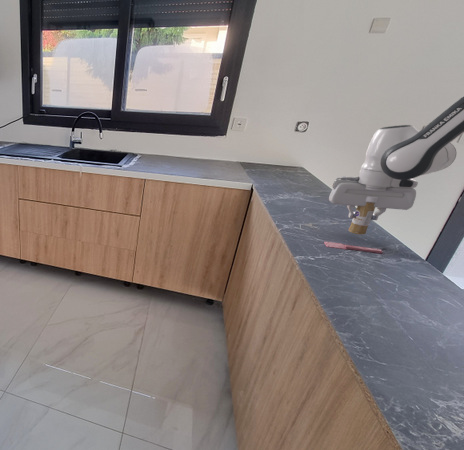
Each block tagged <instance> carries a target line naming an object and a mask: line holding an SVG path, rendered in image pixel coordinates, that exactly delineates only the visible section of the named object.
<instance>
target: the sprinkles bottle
mask: <svg viewBox="0 0 464 450" xmlns="http://www.w3.org/2000/svg"><path fill="white" fill-rule="evenodd" d="M377 200H378V197H371V196H368V197H367V198H366V205H365V206H356V210H355V211H354V212H355V213H357V215H356V218H351V219H352V220H351V223H350V226H349V228H348V232H349V233H352V234H354V235H361V236H362V235H366V234H367V231H368V228H369V225H370V223H371V221H372V220H371V218H372V215H373V214H374V213H375V209H376V207H374V204H375V202H377Z"/></svg>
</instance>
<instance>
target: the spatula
mask: <svg viewBox="0 0 464 450" xmlns="http://www.w3.org/2000/svg"><path fill="white" fill-rule="evenodd" d="M323 244H324V245H325V247H326V248H331V249H339V250H345V251H347V250H351V251H360V252H367V253H373V254H381V255H382V254H383V250H382V249H380V248H374V247H366V246H358V245H351V244H344V243H340V242H333V241H323Z"/></svg>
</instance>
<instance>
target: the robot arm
mask: <svg viewBox="0 0 464 450" xmlns="http://www.w3.org/2000/svg"><path fill="white" fill-rule="evenodd" d="M463 134H464V95H463V96H462V97H461V98H459V99H458V100H457V101H456V102H454V103H453V104H452V105H450V106H449V107H448V108H447V109H445V110H444V111H443V112H442V113H440V114H439V115H438V116H437V117H435V118H434V119H433V120H432V121H431V122H429V123H428V124H427V125H426V126H424V127H423V128H421V130H418V129H417V128H416V127H415V126H414V125H411V124H400V125H390V126H383V127H381V128H379V129H377V130H376V131H375V132H374V134H373V135H372V138H371V139H370V142H369V144H368V147H367V150H366V151H365V160H364V162H363V164H362V165H361V167H360V170H359V173H358V176H346V175H345V176H344V175H343V176H340V177H337V178H336V179H334V180H333V183H332V189H331V191H330V194H329V196H328V200H329V202H330V203H331V204H333V205H341V206H342V205H344V206H346V207H347V210H348V215H347V216H348V219H353V218H356V215H357V213H355V212H356V211H354V210H353V209H355V208H356V207H357V206H365V205H366V198H367V197H368V196H371V197H378V200H377V202H375V204H374V207H375V208H376V209H377V210H376V211H374V213H373V215H372V218H371V221H377V220H378V219H379V217H380V216H381V215H382V214H384V213H385V212H386V211H387V209H391V210H402V211H403V210H404V211H407V210H410V209H412V208H413V206H414V204H415V201H416V197H417V190H416V189H415V188H417V186H418V185H419V182H418V181H417V180H416V179H415V178H418V177H420V176H424V175H429V174H432V173H436V172H439V171H442V170H445V169H447V168H449V166H451V165H452V164H453V163H454V162H455V160H456V157H457V148H456V147H455V146H454V145H453V143H452V142H453V141H455V140H456V139H457V138H458V137H460V136H461V135H463Z"/></svg>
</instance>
